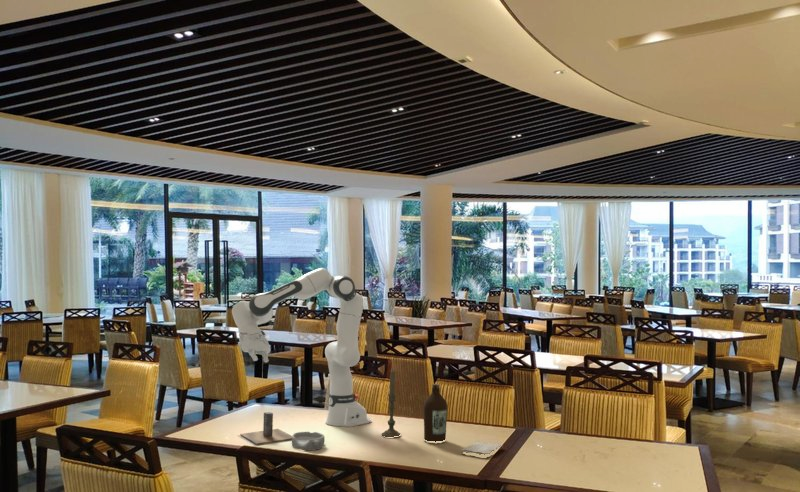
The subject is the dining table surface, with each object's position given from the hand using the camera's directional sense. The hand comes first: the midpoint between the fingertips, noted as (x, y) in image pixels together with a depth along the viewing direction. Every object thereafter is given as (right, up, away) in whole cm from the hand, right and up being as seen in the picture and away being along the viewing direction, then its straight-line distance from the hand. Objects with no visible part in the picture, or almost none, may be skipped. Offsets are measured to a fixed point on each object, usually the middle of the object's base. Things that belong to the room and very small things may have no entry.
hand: (261, 361), depth 297 cm
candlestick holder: (+59, -34, +2) cm, 68 cm away
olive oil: (+78, -35, -6) cm, 86 cm away
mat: (+4, -33, -8) cm, 34 cm away
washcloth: (+97, -35, -21) cm, 105 cm away
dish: (+24, -33, -18) cm, 45 cm away
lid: (+5, -32, -8) cm, 34 cm away
